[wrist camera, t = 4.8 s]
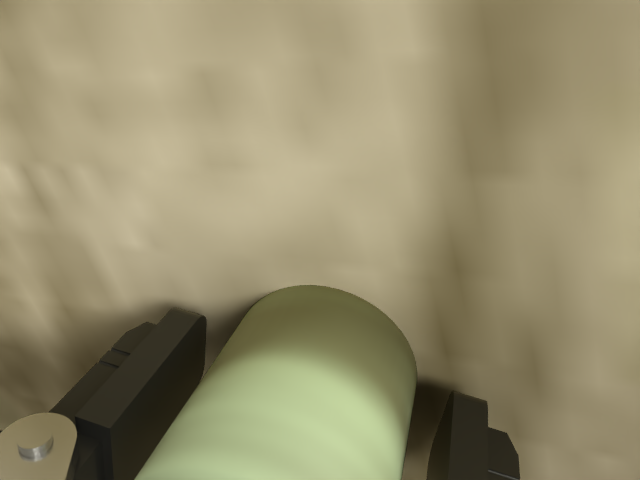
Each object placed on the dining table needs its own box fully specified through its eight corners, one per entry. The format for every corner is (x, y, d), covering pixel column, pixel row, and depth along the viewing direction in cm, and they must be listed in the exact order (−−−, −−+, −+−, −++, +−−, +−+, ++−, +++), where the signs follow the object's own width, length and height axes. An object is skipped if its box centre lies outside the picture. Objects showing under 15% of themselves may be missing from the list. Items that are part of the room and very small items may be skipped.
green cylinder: (244, 263, 12) (110, 430, 8) (438, 316, 11) (411, 533, 7) (232, 402, 14) (122, 593, 10) (394, 454, 13) (353, 686, 9)
